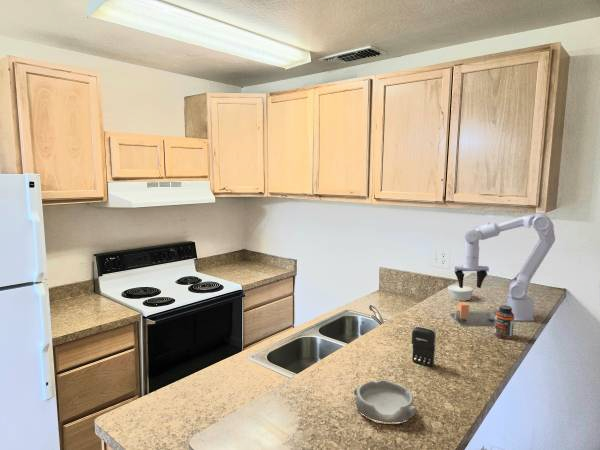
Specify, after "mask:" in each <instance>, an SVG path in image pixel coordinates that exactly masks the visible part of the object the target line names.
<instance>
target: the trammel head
mask: <svg viewBox="0 0 600 450" xmlns="http://www.w3.org/2000/svg"><path fill="white" fill-rule="evenodd" d="M456 311H460V318H463V320H465V318H468V313H469V311H470V305H469V303H467V301H457V310H456Z"/></svg>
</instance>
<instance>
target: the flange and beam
mask: <svg viewBox="0 0 600 450" xmlns="http://www.w3.org/2000/svg"><path fill="white" fill-rule="evenodd" d="M449 316H450V317H451V318H452V319H453V320H454V321H456V323H457V324H458V325H459V326H462V327H495V320H496V313H494V311H492V310H469V313H468V318H465V320H463V318H460V311H457V310H455V311H454V312H453V313H451V312H450V313H449Z"/></svg>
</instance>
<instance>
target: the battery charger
mask: <svg viewBox="0 0 600 450" xmlns="http://www.w3.org/2000/svg"><path fill="white" fill-rule="evenodd" d="M411 332H412V333H411V344H412V359H411V360H412V362H413V363H416V364H419V365H422V366H427V367H432V366H434V365H435V360H436V359H435V358H436V357H435V355H436V345H437V344H436V343H437V341H436V340H437V334H436V331H435V329H433V328H430V327H427V326H426V327H425V326H421V325H418V326H415V327H414V329H412V331H411Z"/></svg>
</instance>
